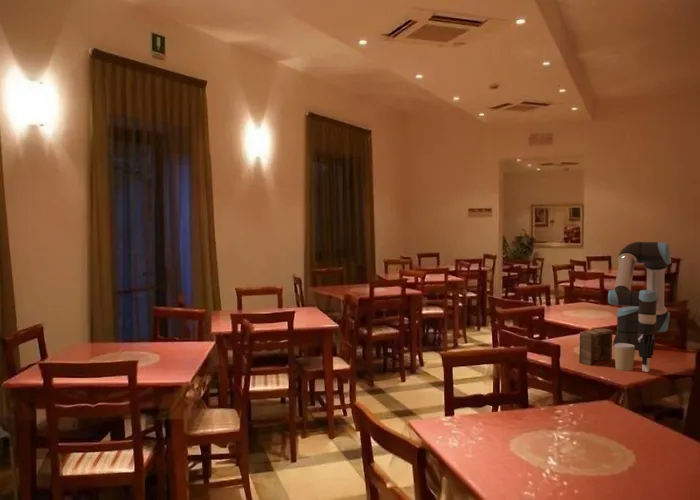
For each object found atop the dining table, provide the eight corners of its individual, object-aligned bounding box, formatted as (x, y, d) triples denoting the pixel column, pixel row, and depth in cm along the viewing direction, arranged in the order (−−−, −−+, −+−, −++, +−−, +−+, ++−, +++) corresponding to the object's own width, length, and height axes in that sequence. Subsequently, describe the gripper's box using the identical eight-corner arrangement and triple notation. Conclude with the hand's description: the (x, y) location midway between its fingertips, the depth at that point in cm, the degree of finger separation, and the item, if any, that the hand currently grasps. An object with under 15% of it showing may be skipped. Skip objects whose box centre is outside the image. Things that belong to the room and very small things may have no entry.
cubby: (600, 358, 297) (601, 328, 296) (611, 360, 292) (612, 330, 291) (579, 362, 288) (579, 331, 287) (590, 365, 282) (590, 334, 281)
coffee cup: (630, 366, 281) (630, 343, 280) (637, 371, 271) (638, 347, 271) (610, 366, 281) (611, 342, 281) (617, 371, 272) (618, 347, 271)
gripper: (647, 320, 272) (645, 367, 273) (631, 322, 265) (630, 371, 267) (662, 322, 266) (661, 370, 267) (646, 325, 259) (645, 375, 260)
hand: (645, 371), depth 267 cm, fingers closed
